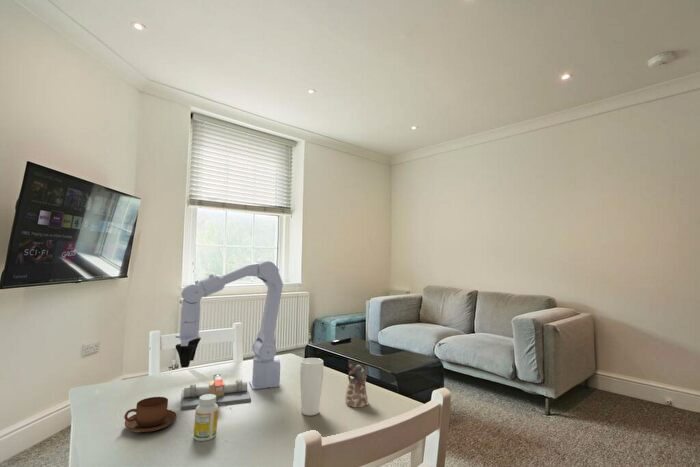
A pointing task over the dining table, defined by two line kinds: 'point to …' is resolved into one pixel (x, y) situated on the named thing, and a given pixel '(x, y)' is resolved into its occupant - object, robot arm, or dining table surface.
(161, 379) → the dining table surface
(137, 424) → the cup and saucer
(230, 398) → the valve board
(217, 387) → the valve lever
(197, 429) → the supplement bottle
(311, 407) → the drinking glass
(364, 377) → the figurine
